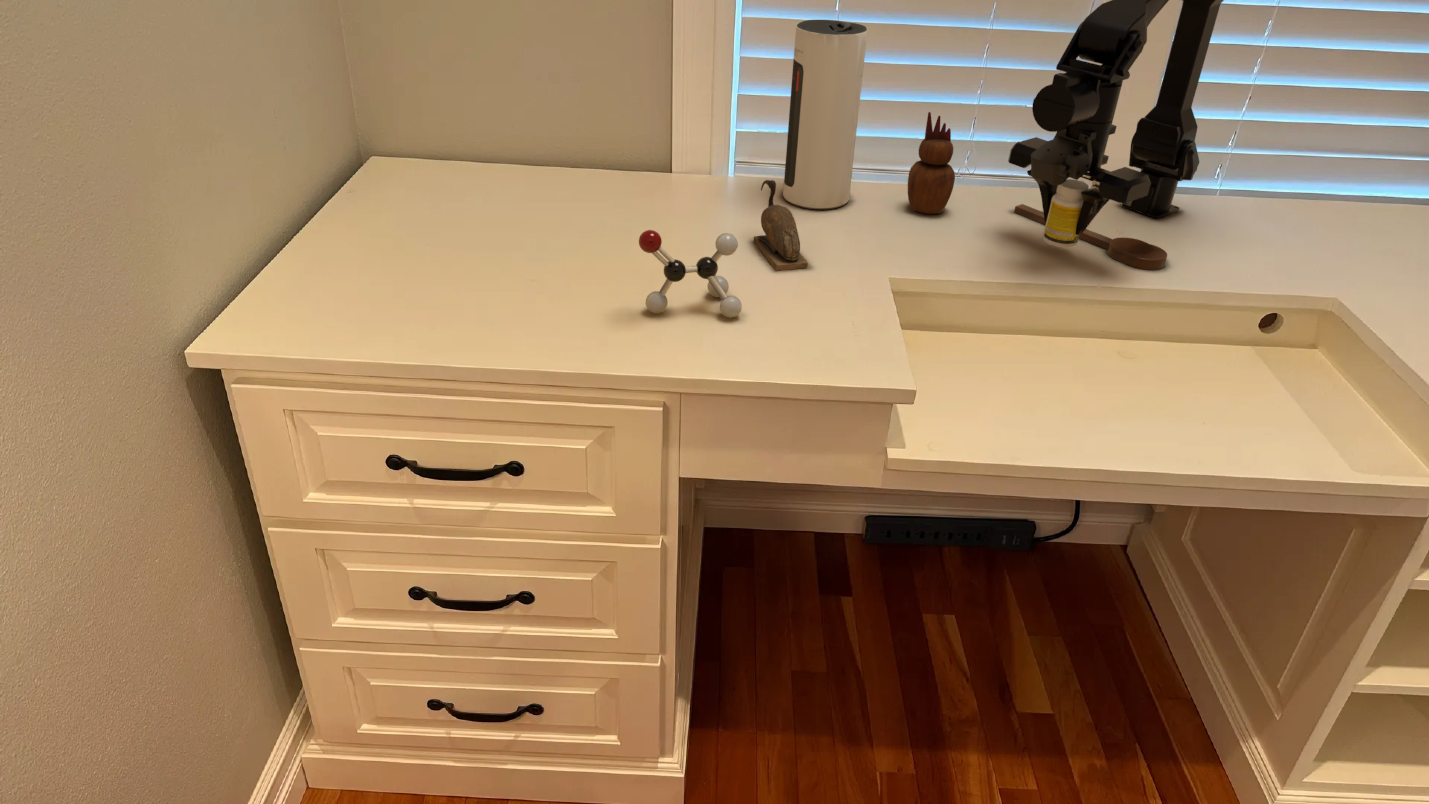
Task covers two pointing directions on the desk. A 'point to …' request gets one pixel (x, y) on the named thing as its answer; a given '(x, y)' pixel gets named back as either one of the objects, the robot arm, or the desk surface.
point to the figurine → (779, 235)
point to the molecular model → (704, 269)
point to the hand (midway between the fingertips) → (1062, 227)
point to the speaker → (823, 112)
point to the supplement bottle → (1064, 214)
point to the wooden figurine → (932, 171)
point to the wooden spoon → (1113, 244)
